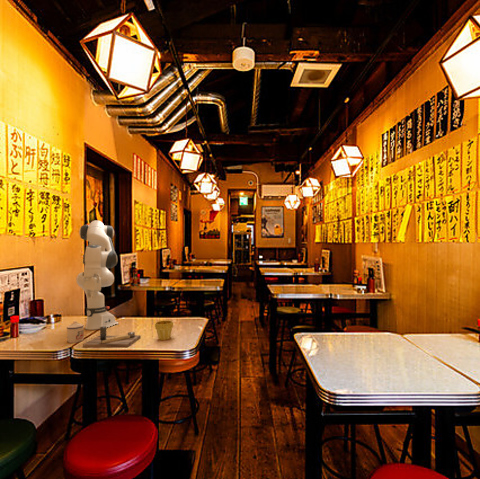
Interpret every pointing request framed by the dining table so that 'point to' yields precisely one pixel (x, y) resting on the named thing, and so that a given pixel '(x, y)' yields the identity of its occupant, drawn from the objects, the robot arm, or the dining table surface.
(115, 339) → the lever
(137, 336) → the lever board
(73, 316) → the dining table surface
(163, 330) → the plant pot
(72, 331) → the teacup with lid
